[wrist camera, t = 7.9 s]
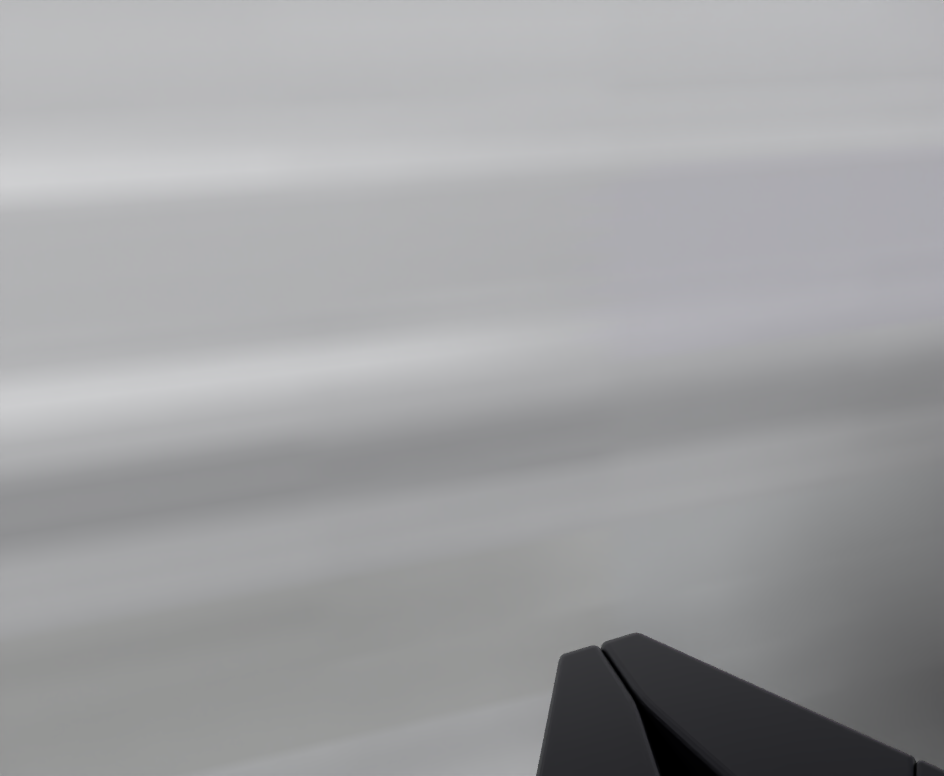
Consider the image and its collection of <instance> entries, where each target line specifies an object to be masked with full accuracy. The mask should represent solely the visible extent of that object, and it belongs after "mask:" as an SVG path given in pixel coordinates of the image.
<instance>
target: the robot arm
mask: <svg viewBox="0 0 944 776" xmlns="http://www.w3.org/2000/svg"><path fill="white" fill-rule="evenodd" d="M536 776H944V770H942V769H940V768H938V767H936V766H934V765H931V764H929V763H927V762H925V761H918V762H917V763H916V761H915V759H914V757H912V756H911V755H908V754H906V753H904V752H902V751H900V750H897V749H895V748H893V747H891V746H889V745H886V744H884V743H882V742H880V741H877V740H875V739H873V738H871V737H869V736H866V735H864V734H862V733H860V732H858V731H855V730H853V729H851V728H849V727H846V726H844V725H842V724H840V723H838V722H835V721H833V720H831V719H829V718H827V717H824V716H822V715H820V714H818V713H816V712H813V711H811V710H809V709H807V708H804V707H802V706H800V705H798V704H796V703H793V702H791V701H789V700H787V699H785V698H782V697H780V696H778V695H776V694H773V693H771V692H769V691H767V690H765V689H762V688H760V687H758V686H756V685H754V684H751V683H749V682H747V681H745V680H743V679H740V678H738V677H736V676H734V675H731V674H729V673H727V672H725V671H723V670H720V669H718V668H716V667H714V666H712V665H709V664H707V663H705V662H703V661H700V660H698V659H696V658H694V657H692V656H689V655H687V654H685V653H683V652H681V651H678V650H676V649H674V648H672V647H669V646H667V645H665V644H663V643H661V642H658V641H656V640H654V639H652V638H650V637H647V636H645V635H643V634H640V633H632V634H629V635H625V636H622V637H619V638H615V639H612V640H609V641H606V642H604V643H603V644H602V646H601V649H600V648H599V647H598V646H589V647H585V648H582V649H579V650H575V651H572V652H569V653H565V654H563V655H562V656H561V657H560V659H559V662H558V667H557V673H556V678H555V683H554V688H553V693H552V698H551V703H550V708H549V713H548V718H547V723H546V729H545V734H544V739H543V744H542V749H541V754H540V759H539V764H538V769H537V774H536Z"/></svg>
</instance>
